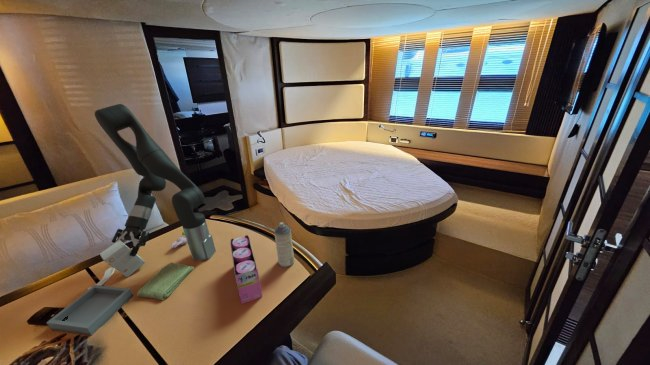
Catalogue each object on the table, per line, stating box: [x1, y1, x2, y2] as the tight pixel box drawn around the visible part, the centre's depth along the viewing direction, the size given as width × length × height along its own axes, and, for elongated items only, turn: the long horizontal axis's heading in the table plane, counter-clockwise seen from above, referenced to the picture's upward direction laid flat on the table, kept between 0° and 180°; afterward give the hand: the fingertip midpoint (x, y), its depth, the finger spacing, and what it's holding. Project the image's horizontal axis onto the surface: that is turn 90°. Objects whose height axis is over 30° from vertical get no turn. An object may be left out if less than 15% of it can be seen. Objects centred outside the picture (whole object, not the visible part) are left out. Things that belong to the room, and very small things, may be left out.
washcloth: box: [136, 262, 195, 301], centre depth 100 cm, size 13×18×3 cm
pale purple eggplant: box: [170, 231, 188, 249], centre depth 123 cm, size 6×6×15 cm
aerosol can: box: [273, 221, 295, 268], centre depth 104 cm, size 7×7×20 cm
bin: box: [46, 284, 134, 336], centre depth 88 cm, size 16×16×4 cm
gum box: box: [229, 234, 263, 305], centre depth 98 cm, size 24×8×14 cm, turn 24°
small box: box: [99, 240, 146, 278], centre depth 103 cm, size 8×6×13 cm
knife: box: [87, 266, 116, 291], centre depth 103 cm, size 30×2×8 cm
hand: (123, 255), depth 103 cm, fingers closed on small box, 8 cm apart
